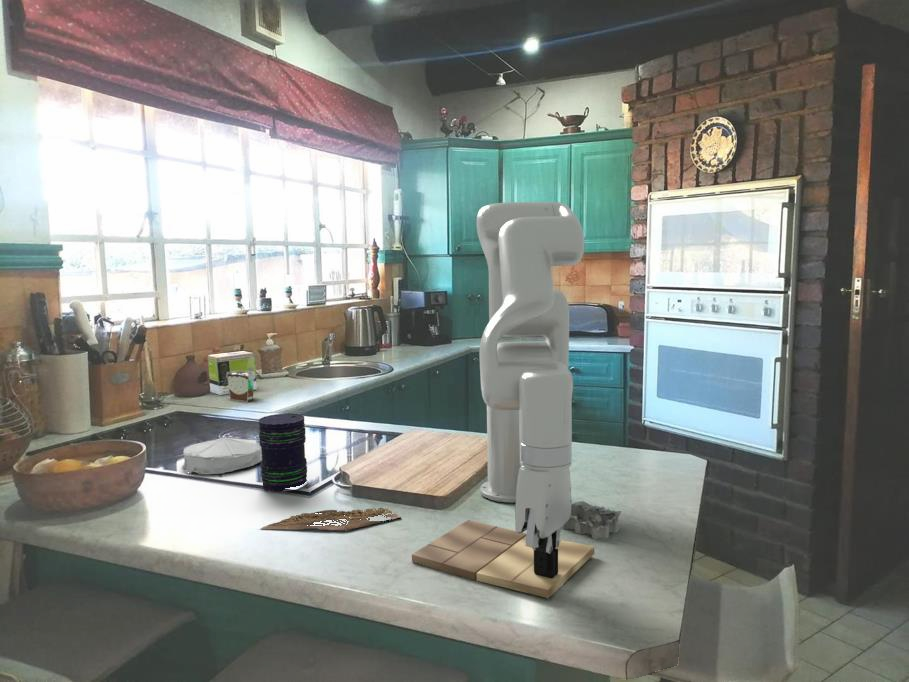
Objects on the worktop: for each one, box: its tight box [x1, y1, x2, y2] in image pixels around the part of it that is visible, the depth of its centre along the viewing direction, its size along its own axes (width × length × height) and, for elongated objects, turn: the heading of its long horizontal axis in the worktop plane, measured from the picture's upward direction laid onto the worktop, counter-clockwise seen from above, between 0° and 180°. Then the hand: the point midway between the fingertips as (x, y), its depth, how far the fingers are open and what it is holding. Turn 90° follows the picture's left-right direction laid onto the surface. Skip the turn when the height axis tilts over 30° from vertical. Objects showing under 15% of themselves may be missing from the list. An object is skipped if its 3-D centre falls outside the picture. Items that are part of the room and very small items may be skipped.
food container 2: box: [226, 371, 255, 403], centre depth 241 cm, size 12×6×10 cm, turn 58°
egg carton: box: [561, 501, 622, 540], centre depth 120 cm, size 11×8×4 cm
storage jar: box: [258, 413, 308, 493], centre depth 146 cm, size 10×10×15 cm
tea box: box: [207, 350, 258, 396], centre depth 257 cm, size 15×10×15 cm, turn 130°
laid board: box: [411, 519, 527, 581], centre depth 111 cm, size 17×12×1 cm
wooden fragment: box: [260, 507, 401, 532], centre depth 125 cm, size 26×11×1 cm, turn 96°
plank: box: [476, 536, 595, 599], centre depth 105 cm, size 17×12×1 cm
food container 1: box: [181, 437, 262, 475], centre depth 164 cm, size 20×20×7 cm
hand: (546, 574), depth 99 cm, fingers closed
